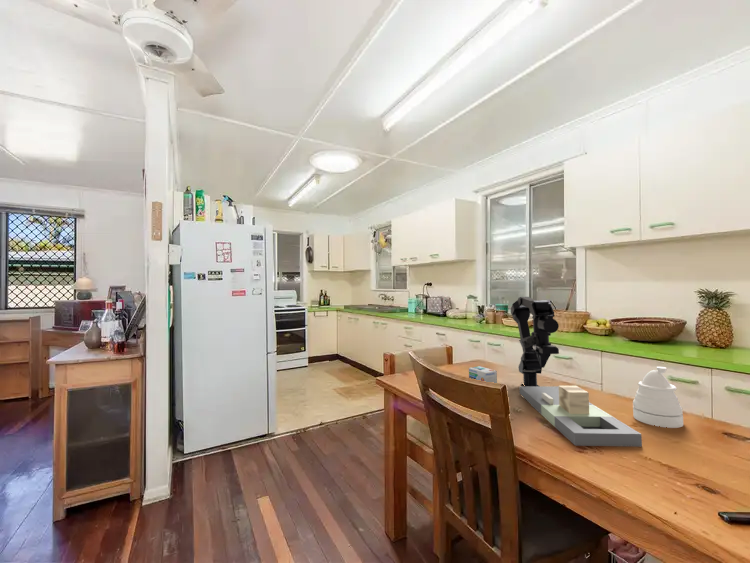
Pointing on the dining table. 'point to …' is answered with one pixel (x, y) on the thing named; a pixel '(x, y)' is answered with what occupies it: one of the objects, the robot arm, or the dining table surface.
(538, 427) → the dining table surface
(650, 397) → the honey pot
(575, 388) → the maple block
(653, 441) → the dining table surface
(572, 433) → the platform
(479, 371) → the light bulb box
